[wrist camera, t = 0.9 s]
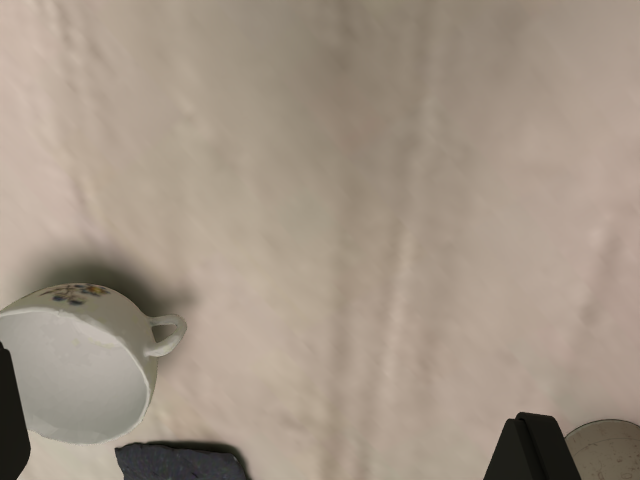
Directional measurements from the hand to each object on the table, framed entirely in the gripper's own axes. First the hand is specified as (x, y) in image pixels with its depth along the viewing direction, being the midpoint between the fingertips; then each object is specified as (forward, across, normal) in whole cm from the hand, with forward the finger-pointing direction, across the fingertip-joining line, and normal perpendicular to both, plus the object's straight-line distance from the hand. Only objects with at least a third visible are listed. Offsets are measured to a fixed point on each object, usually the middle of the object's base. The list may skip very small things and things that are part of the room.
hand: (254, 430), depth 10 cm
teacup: (+27, +15, +19) cm, 36 cm away
